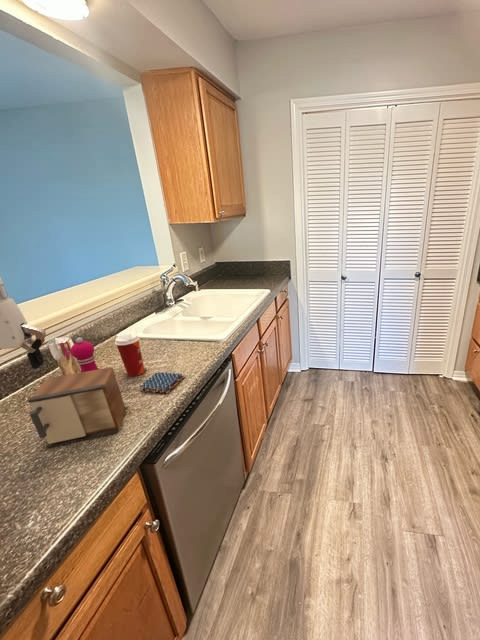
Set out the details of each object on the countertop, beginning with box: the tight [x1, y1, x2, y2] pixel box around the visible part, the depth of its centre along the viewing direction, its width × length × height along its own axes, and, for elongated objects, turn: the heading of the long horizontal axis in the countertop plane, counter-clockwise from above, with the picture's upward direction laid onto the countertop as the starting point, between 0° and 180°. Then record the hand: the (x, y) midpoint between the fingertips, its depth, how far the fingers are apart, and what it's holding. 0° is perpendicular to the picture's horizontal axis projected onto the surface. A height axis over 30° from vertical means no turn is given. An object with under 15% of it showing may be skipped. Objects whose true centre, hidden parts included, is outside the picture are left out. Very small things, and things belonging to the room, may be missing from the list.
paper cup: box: [114, 333, 145, 377], centre depth 114 cm, size 8×8×14 cm
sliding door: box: [28, 395, 86, 445], centre depth 79 cm, size 8×5×13 cm, turn 108°
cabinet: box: [27, 366, 126, 448], centre depth 87 cm, size 16×12×14 cm
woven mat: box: [139, 371, 185, 394], centre depth 108 cm, size 10×11×2 cm
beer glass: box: [47, 335, 81, 376], centre depth 112 cm, size 7×7×15 cm
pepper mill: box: [71, 337, 100, 372], centre depth 101 cm, size 7×7×20 cm
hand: (15, 368), depth 74 cm, fingers open, 9 cm apart
